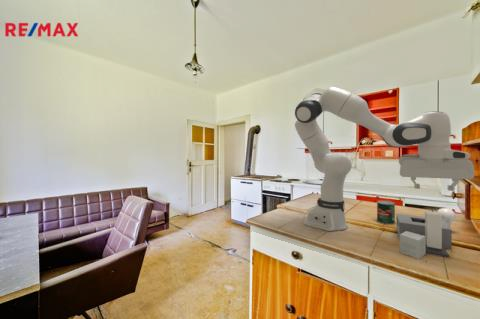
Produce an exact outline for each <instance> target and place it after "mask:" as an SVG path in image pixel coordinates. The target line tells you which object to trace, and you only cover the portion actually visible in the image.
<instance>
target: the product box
mask: <svg viewBox="0 0 480 319" xmlns="http://www.w3.org/2000/svg"><path fill="white" fill-rule="evenodd" d="M399 252H400V253H401V254H404V255H407V256H410V257H412V258H414V259H417V260H420V259H422V258H423V257H424V256H425V255H426V254H427V253H426V247H425V236H423V235H419V234H416V233H412V232H408V231H405V232H404V233H402V234H400V240H399Z"/></svg>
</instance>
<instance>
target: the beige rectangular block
mask: <svg viewBox="0 0 480 319" xmlns="http://www.w3.org/2000/svg"><path fill="white" fill-rule="evenodd" d="M424 217H425V245H426V248H427V249H430V250H435V251H441V252H442V215H441V214H440V213H438V212H437V211H436V212H435V211H427V210H424Z"/></svg>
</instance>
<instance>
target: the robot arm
mask: <svg viewBox="0 0 480 319" xmlns="http://www.w3.org/2000/svg"><path fill="white" fill-rule="evenodd" d="M295 107H296V108H295V110H294V115H295V116H294V117H295V118H296V121H295V123H294V128H295V130H296V132H297V134H298V137H299V139H300V140H301V141H302V142H303V144H304V145H305V148H306V149H307V150H308V151H309V154H310V155H311V158H312V160H313V165H314V168H315V169H316V170H317V171H318V172H320V173H322V174H324V177H323V181H322V183H320V197H318V198H317V200H316V203H317V205H315V206H314V207H312V208H311V209H309V211H308V212H307V215H306V217H305V218H304V219H303V220H302V224H303V225H304V226H309V227H313V228H316V229H320V230H323V231H327V232H334V231H344V230H346V229H347V228H348V225H347V221H346V217H345V215H346V214H345V210H346V208H345V205H346V203H345V199H344V185H345V180H346V177H347V175H348V174H349V173H350V172H351V170H352V162H351V160H350V158H348V157H347V156H344V155H342V154H334V153H332V151H331V148H330V145H329V144H330V140H329V139H328V137H327V136H326V135H325V133H324V132H323V130H322V129H321V127H320V126H319V124H318V122H317V118H319V116H321V115H322V113H324V112H329V113H331V114H333V115H335V116H337V117H339V118H341V119H344V120H345V121H348V122H351V123H354V124H357V125H359V126H362V127H364V128H365V129H367V130H369V131H371V132H373V133H374V134H376V135H378V136H379V137H380V138H381V139H382V140H383V143H385V144H386V145H388V146H389V147H391V148H396V149H397V148H402V147H410V146H414V145H417V153H415V154H413V153H412V154H403V155H401V156H399V158H398V164H399V165H400V166H399V175H400V176H401V177H403V178H410V180H411V182H412V183H413V184H414V186H413V187H414V189H416V190H417V189H419V190H420V189H421V184H420V183H417V182H416V180H417V178H421V179H422V178H423V179H424V178H425V179H451V181H452V183H451V184H449V185H448V184H447V191H450V192H451V191H452V192H455V187H456V186H457V185H458V184H459V183H460V180H472V179H474V177H475V167H474V163H473V162H472V160H470V158H471V153H470V152H466V151H461V150H457V149H452V148H451V145H452V144H451V142H450V138H451V135H452V131H451V130H452V127H451V126H452V125H451V120H450V116H449V114H448V113H447V112H444V111H425V112H421V113H420V114H419V115H417V116H415V117H414V118H411V119H409V120H406V121H403V122H401V123H399V124H393V123H389V122H388V121H386V120H384V119H382V118H380V117H379V116H377V115H374V114H373V113H372V111H370V108H369V105H368V103H367V101H366V100H365V99H363V98H362V97H361V96H359V95H358V94H356V93H353V92H352V91H349V90H347V89H344V88H340V87H337V86H328V87H327V88H325V89H324V90H323V91H322V93H319V92H316V93H315V92H314V93H312V94H310V95H308V96H307V97H305V98H304V99H303V100H302V101H300V102H299V103H298V104H297V106H295Z"/></svg>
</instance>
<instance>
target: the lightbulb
mask: <svg viewBox="0 0 480 319" xmlns="http://www.w3.org/2000/svg"><path fill="white" fill-rule="evenodd" d="M436 212H438V213H440V214H441V215H442V220H443V221H444V222H445V223H446V224H447V225H448V226H449V227H450V228H451V226H452V223H453V222H454V221H455V219H456V217H457V215H456V213H455V211H454V210H452V209H451V208H448V207H447V208H446V207H442V208H439V209H438V210H436Z"/></svg>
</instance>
